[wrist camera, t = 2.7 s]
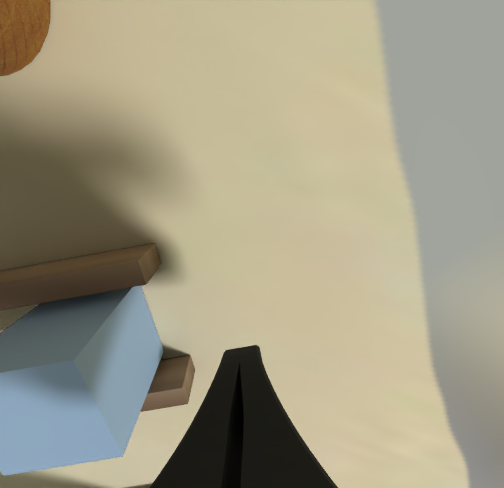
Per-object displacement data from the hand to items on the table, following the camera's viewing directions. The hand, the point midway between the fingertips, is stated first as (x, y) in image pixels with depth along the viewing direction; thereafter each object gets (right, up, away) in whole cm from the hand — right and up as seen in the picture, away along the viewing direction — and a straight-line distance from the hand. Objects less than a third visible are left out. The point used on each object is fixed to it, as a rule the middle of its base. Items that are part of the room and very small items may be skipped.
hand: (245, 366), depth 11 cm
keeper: (-8, 0, +5) cm, 10 cm away
